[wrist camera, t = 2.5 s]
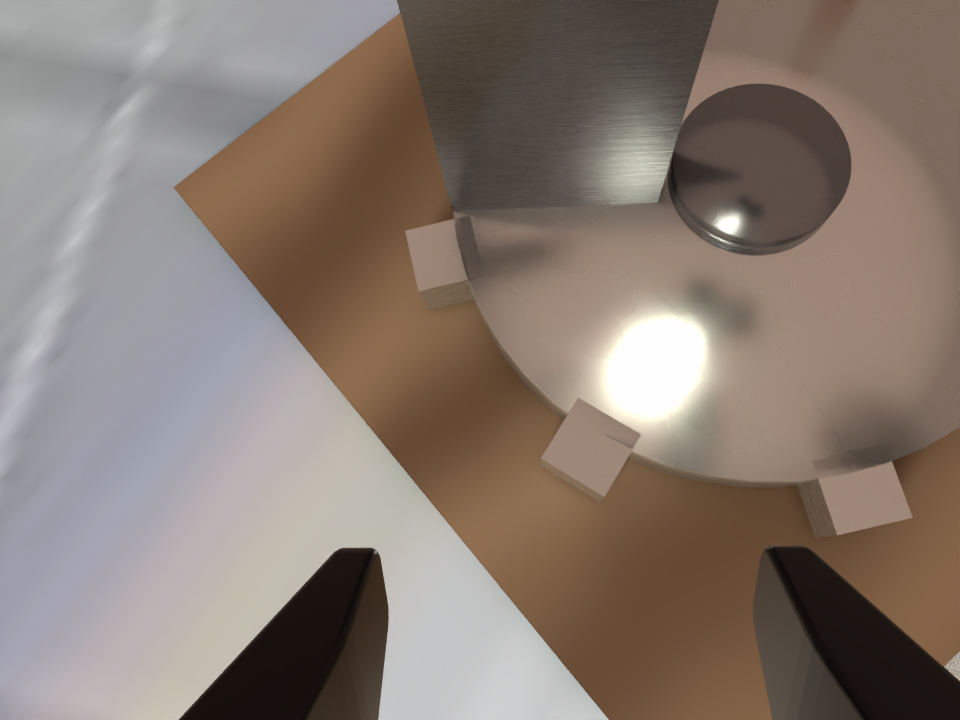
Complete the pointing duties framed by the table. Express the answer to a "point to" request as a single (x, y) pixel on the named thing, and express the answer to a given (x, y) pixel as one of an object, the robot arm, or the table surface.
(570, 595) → the base board
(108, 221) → the table surface
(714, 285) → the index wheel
